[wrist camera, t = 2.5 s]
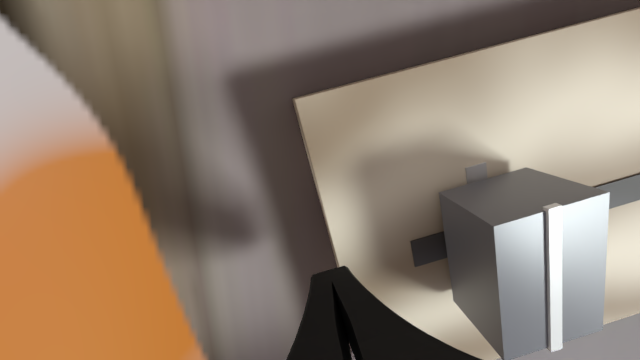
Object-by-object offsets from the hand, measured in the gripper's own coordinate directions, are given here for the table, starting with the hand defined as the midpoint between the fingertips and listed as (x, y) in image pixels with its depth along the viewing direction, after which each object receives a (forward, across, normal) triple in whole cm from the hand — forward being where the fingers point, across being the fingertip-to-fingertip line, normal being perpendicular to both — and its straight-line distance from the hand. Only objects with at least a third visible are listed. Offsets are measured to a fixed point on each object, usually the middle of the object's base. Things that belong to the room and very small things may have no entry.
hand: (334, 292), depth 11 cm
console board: (+3, -13, 0) cm, 14 cm away
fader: (+1, -6, 0) cm, 6 cm away
